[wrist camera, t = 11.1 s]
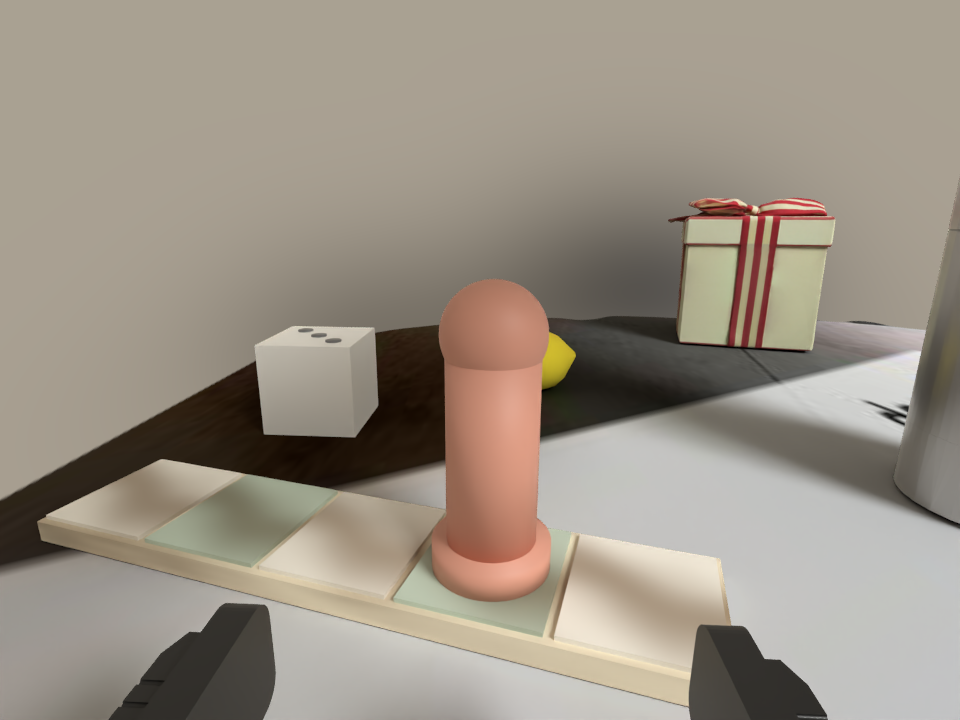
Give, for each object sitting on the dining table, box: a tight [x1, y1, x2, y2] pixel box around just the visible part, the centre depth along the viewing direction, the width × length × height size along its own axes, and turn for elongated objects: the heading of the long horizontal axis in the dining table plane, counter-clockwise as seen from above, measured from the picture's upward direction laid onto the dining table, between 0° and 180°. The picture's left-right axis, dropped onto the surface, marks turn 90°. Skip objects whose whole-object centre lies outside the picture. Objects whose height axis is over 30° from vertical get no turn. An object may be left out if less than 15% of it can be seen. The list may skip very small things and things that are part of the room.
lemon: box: [542, 332, 576, 389], centre depth 48 cm, size 7×5×5 cm
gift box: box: [668, 198, 835, 351], centre depth 69 cm, size 17×18×17 cm
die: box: [255, 326, 378, 437], centre depth 40 cm, size 6×6×7 cm
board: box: [37, 459, 731, 707], centre depth 24 cm, size 7×30×1 cm, turn 72°
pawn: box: [432, 279, 551, 602], centre depth 21 cm, size 5×5×12 cm
